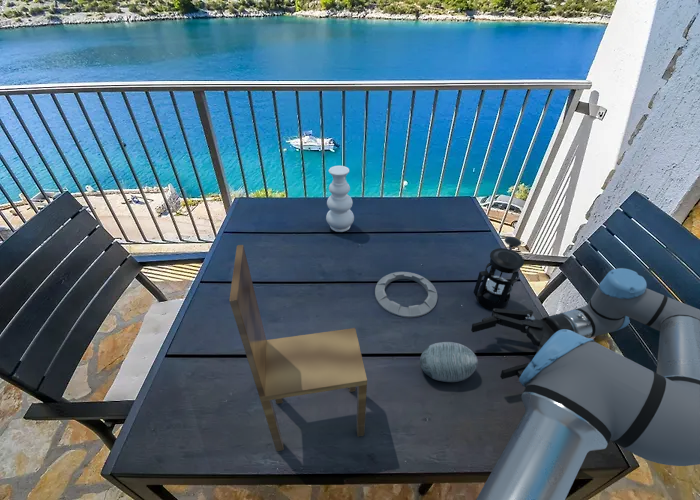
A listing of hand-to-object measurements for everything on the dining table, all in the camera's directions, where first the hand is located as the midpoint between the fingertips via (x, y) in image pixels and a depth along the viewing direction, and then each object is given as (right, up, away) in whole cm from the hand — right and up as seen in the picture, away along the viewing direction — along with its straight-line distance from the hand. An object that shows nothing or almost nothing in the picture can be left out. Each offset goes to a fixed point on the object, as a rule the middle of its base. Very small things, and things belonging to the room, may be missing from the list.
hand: (486, 350), depth 85 cm
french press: (+10, +9, +23) cm, 27 cm away
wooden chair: (-40, -14, -5) cm, 43 cm away
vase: (-37, +33, +54) cm, 74 cm away
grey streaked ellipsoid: (-9, -7, +4) cm, 12 cm away
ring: (-16, +10, +25) cm, 31 cm away
